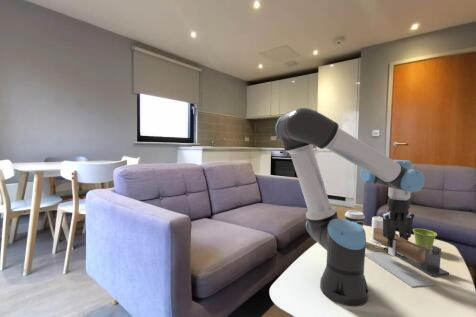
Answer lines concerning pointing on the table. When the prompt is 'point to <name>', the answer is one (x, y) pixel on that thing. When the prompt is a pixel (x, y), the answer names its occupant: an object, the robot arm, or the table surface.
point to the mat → (399, 270)
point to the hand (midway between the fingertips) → (395, 254)
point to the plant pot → (424, 238)
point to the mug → (376, 226)
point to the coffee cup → (355, 217)
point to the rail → (402, 246)
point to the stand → (427, 261)
